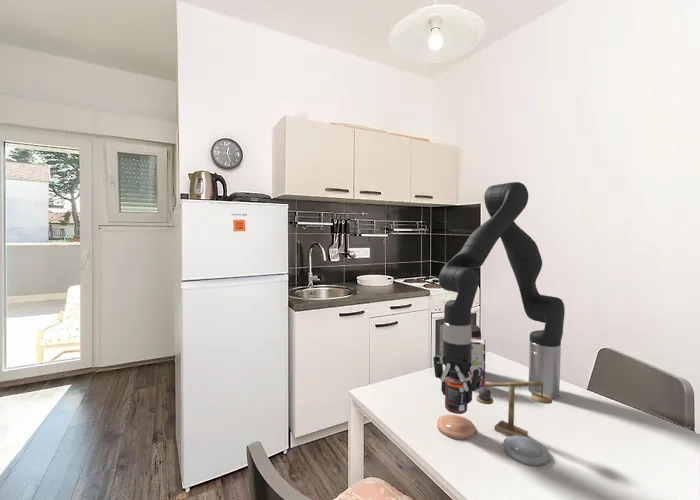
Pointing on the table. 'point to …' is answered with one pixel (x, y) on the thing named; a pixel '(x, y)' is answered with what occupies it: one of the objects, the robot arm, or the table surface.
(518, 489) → the table surface
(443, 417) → the terracotta dish
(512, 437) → the slate dish
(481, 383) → the candy bar box
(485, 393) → the balance
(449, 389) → the supplement bottle
